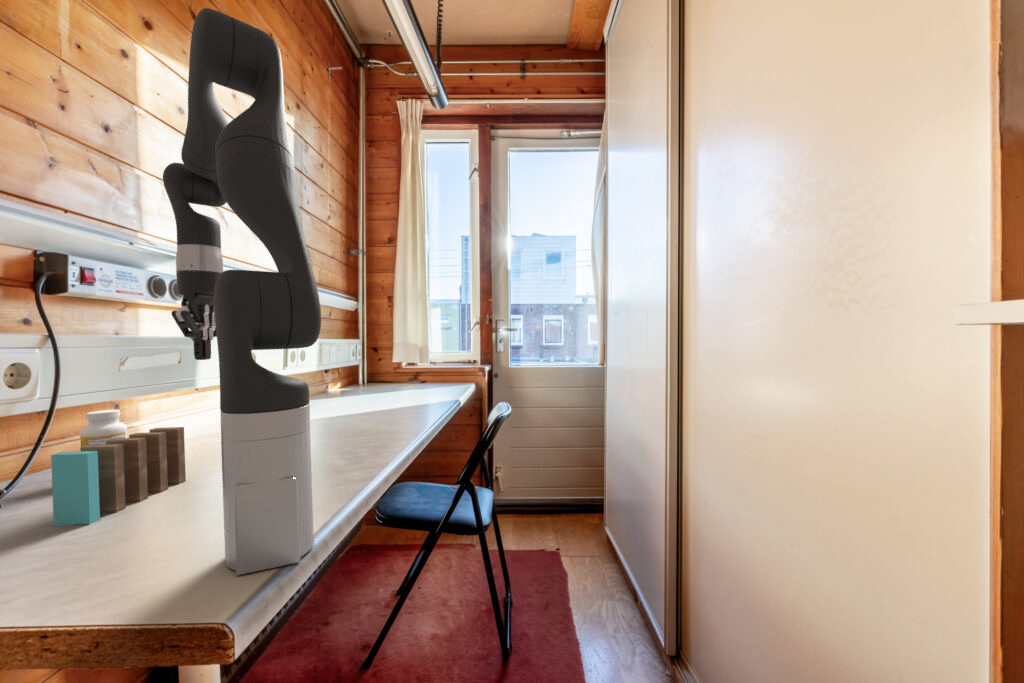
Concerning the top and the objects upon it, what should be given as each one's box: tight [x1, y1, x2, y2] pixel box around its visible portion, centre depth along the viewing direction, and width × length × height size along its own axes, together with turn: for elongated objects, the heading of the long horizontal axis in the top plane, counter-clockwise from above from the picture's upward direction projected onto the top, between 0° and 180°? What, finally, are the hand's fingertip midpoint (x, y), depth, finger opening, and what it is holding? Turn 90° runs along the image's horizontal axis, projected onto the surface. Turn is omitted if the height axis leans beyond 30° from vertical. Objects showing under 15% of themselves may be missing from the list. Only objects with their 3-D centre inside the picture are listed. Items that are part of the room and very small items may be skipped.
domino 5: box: [148, 426, 187, 485], centre depth 81 cm, size 2×5×10 cm, turn 91°
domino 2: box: [79, 444, 126, 514], centre depth 68 cm, size 2×5×10 cm, turn 91°
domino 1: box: [50, 451, 101, 527], centre depth 64 cm, size 2×5×10 cm, turn 91°
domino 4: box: [128, 432, 169, 494], centre depth 77 cm, size 2×5×10 cm, turn 91°
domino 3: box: [106, 437, 149, 503], centre depth 72 cm, size 2×5×10 cm, turn 91°
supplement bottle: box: [79, 409, 128, 447], centre depth 85 cm, size 7×7×13 cm
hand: (203, 359), depth 88 cm, fingers closed
